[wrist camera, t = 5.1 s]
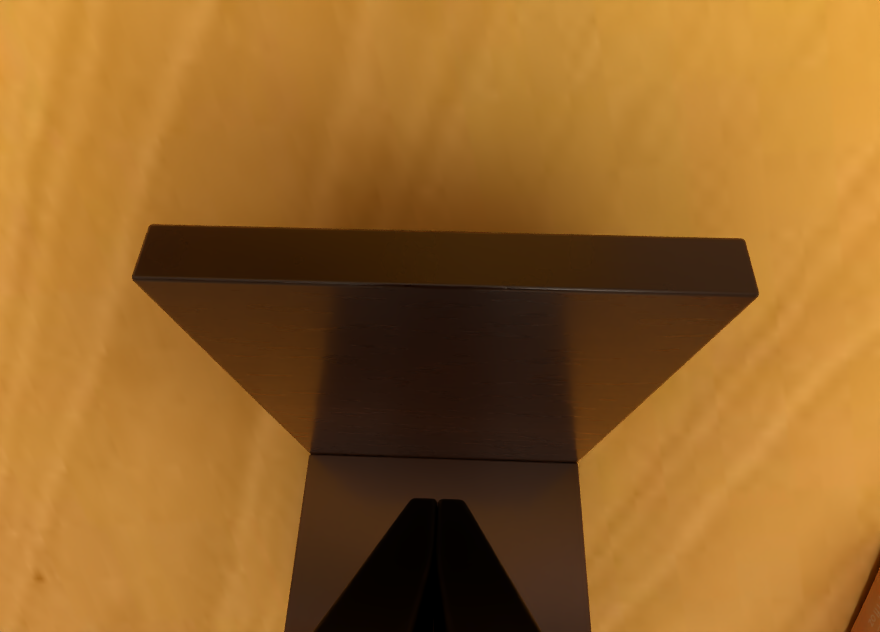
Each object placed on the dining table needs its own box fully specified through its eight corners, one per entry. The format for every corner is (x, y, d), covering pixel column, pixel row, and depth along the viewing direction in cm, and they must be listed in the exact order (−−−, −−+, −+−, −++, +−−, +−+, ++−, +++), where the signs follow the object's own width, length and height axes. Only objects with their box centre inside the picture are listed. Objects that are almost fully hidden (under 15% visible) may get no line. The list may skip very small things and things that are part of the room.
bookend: (316, 427, 19) (147, 222, 8) (572, 436, 19) (745, 236, 8) (258, 845, 14) (-363, 1714, 3) (605, 861, 14) (1182, 1851, 3)
